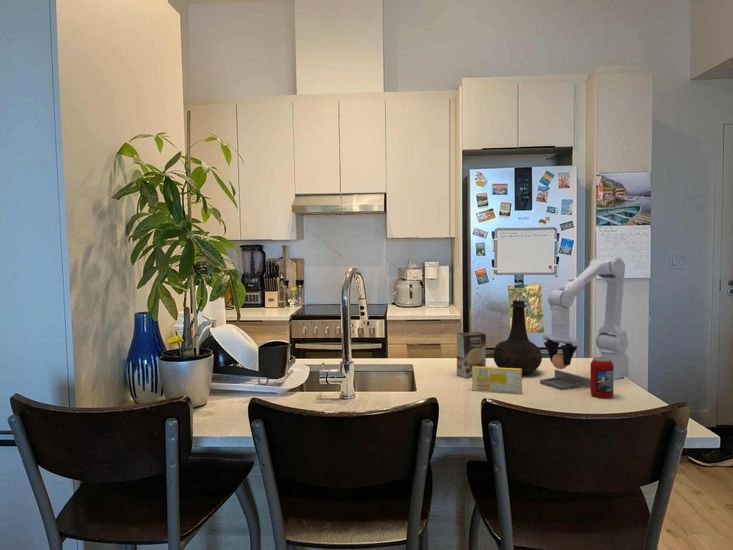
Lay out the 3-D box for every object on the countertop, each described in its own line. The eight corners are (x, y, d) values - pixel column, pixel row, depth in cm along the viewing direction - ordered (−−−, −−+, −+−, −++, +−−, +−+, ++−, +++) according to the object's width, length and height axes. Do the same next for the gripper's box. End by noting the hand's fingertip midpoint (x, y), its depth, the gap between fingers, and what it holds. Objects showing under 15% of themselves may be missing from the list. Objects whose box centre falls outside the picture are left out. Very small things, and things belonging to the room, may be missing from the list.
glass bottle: (488, 367, 208) (487, 298, 207) (532, 366, 209) (532, 297, 208) (501, 379, 191) (501, 303, 189) (549, 377, 191) (549, 302, 190)
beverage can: (603, 400, 163) (604, 362, 162) (585, 394, 169) (585, 358, 168) (618, 396, 166) (618, 359, 165) (599, 391, 172) (600, 356, 171)
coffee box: (464, 378, 192) (464, 335, 191) (456, 374, 198) (456, 332, 197) (486, 376, 195) (486, 333, 194) (477, 372, 201) (477, 331, 200)
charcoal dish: (558, 380, 188) (558, 376, 188) (581, 386, 179) (581, 383, 179) (539, 383, 184) (539, 380, 184) (561, 390, 175) (561, 386, 175)
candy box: (522, 393, 173) (522, 368, 172) (521, 394, 171) (521, 369, 170) (472, 389, 178) (472, 365, 178) (472, 391, 176) (471, 366, 176)
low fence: (556, 377, 191) (556, 369, 191) (592, 387, 177) (592, 379, 177) (554, 378, 191) (554, 369, 191) (590, 388, 176) (590, 379, 176)
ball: (560, 366, 185) (560, 351, 184) (572, 369, 180) (572, 353, 179) (548, 368, 182) (548, 352, 182) (560, 371, 177) (560, 355, 177)
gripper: (536, 322, 185) (536, 360, 186) (568, 328, 172) (568, 369, 173) (551, 321, 188) (551, 358, 189) (583, 326, 175) (583, 366, 176)
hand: (560, 363), depth 181 cm, fingers closed on ball, 5 cm apart
